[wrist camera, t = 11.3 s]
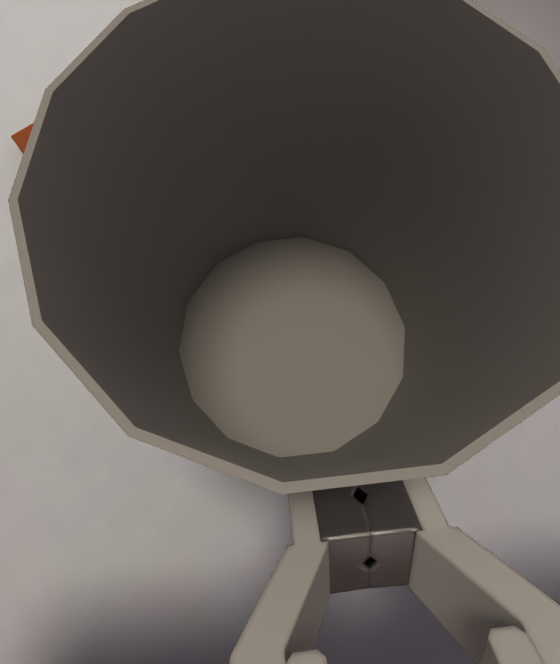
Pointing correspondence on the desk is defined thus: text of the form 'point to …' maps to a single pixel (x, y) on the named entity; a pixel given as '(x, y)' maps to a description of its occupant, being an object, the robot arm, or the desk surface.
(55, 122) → the cup
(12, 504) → the desk surface
